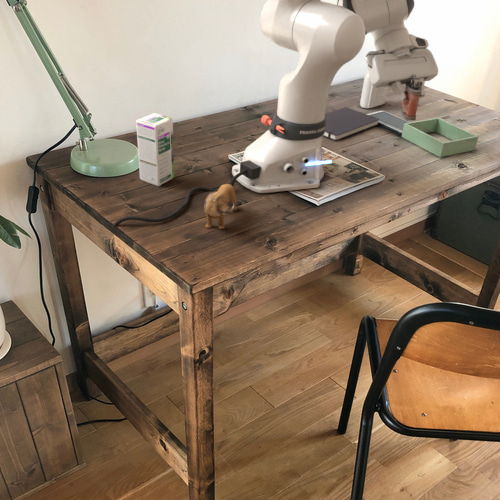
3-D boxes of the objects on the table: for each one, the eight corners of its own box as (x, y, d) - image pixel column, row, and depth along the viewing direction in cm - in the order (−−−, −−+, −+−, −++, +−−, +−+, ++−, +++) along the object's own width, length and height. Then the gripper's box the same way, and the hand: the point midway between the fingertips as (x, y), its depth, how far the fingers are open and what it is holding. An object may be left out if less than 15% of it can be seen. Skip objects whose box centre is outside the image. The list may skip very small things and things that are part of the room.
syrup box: (158, 187, 129) (157, 125, 121) (138, 179, 131) (135, 118, 123) (174, 178, 133) (173, 118, 125) (154, 171, 135) (152, 111, 127)
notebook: (345, 111, 178) (300, 127, 165) (346, 106, 177) (301, 121, 164) (379, 124, 171) (335, 140, 158) (380, 119, 170) (336, 135, 157)
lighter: (417, 120, 146) (426, 81, 140) (404, 120, 146) (412, 80, 140) (410, 109, 152) (418, 72, 147) (397, 109, 152) (405, 71, 147)
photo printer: (376, 100, 189) (383, 62, 182) (386, 103, 187) (394, 65, 180) (357, 106, 183) (363, 67, 176) (368, 110, 180) (375, 70, 174)
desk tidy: (440, 157, 152) (443, 143, 150) (401, 136, 163) (404, 123, 161) (474, 150, 158) (478, 136, 156) (435, 130, 169) (438, 117, 167)
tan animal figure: (226, 240, 112) (228, 199, 107) (199, 236, 112) (200, 195, 107) (239, 204, 124) (241, 166, 119) (215, 201, 125) (216, 163, 120)
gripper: (370, 45, 140) (389, 96, 139) (431, 39, 149) (450, 88, 148) (356, 58, 146) (374, 108, 144) (416, 52, 155) (433, 99, 153)
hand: (413, 98), depth 146 cm, fingers closed on lighter, 4 cm apart
